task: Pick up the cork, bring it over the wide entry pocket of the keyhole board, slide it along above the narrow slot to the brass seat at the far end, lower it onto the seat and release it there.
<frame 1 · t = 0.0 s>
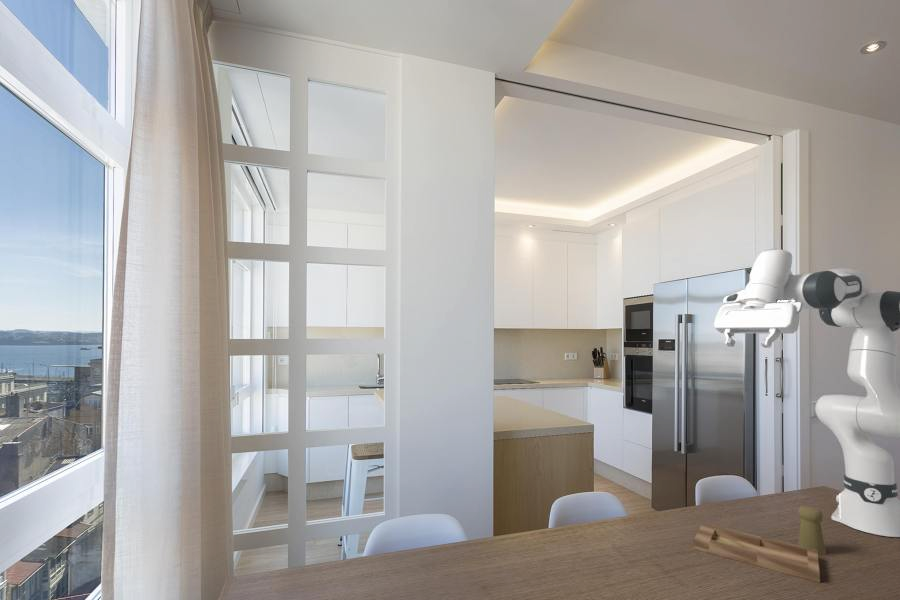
hand: (746, 346, 118), 54 cm above the table, tool tilted 30°, fingers open, 8 cm apart
keyhole board: (754, 554, 118), on the table
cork: (811, 550, 121), on the table
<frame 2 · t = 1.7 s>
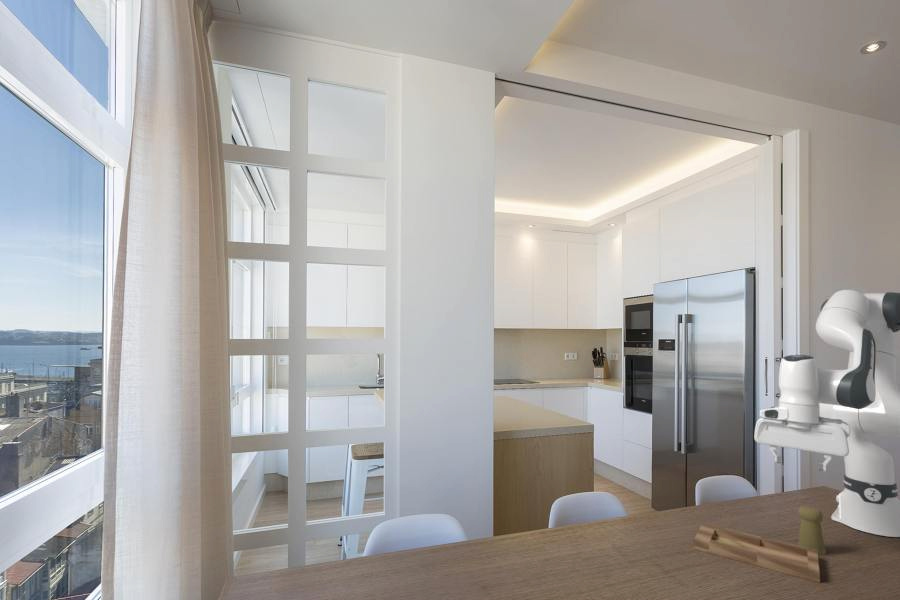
hand: (799, 466, 121), 22 cm above the table, tool pointing down, fingers open, 8 cm apart
nothing on the table moved.
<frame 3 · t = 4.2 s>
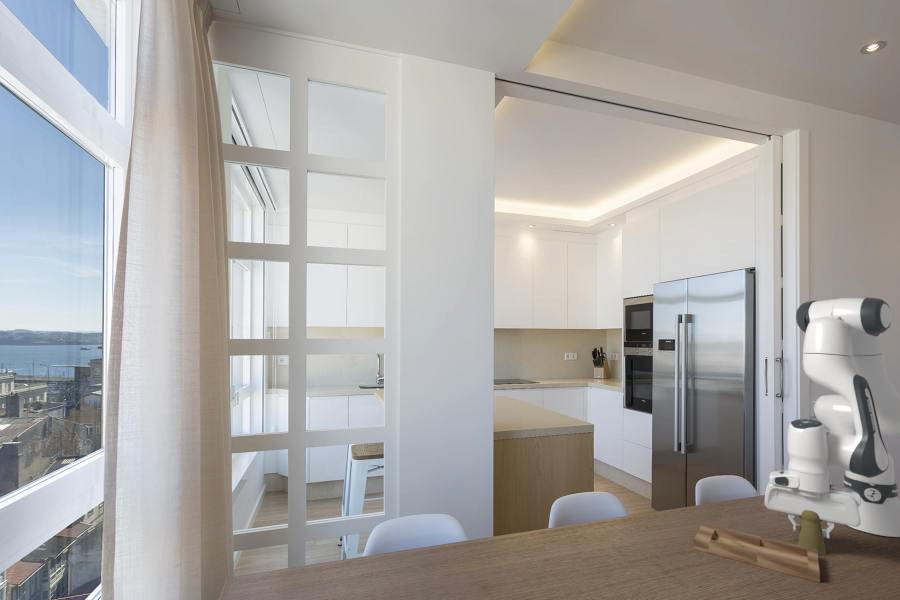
hand: (811, 533, 121), 4 cm above the table, tool pointing down, fingers closed on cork, 5 cm apart
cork: (811, 550, 121), on the table, touching gripper
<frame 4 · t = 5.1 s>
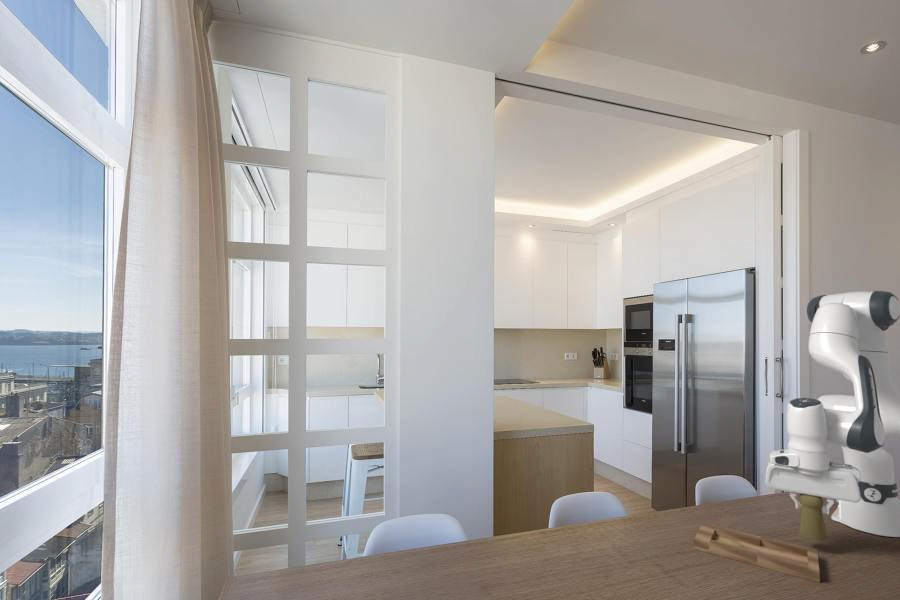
hand: (812, 511, 122), 10 cm above the table, tool pointing down, fingers closed on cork, 4 cm apart
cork: (813, 536, 121), point 3 cm above the table, touching gripper
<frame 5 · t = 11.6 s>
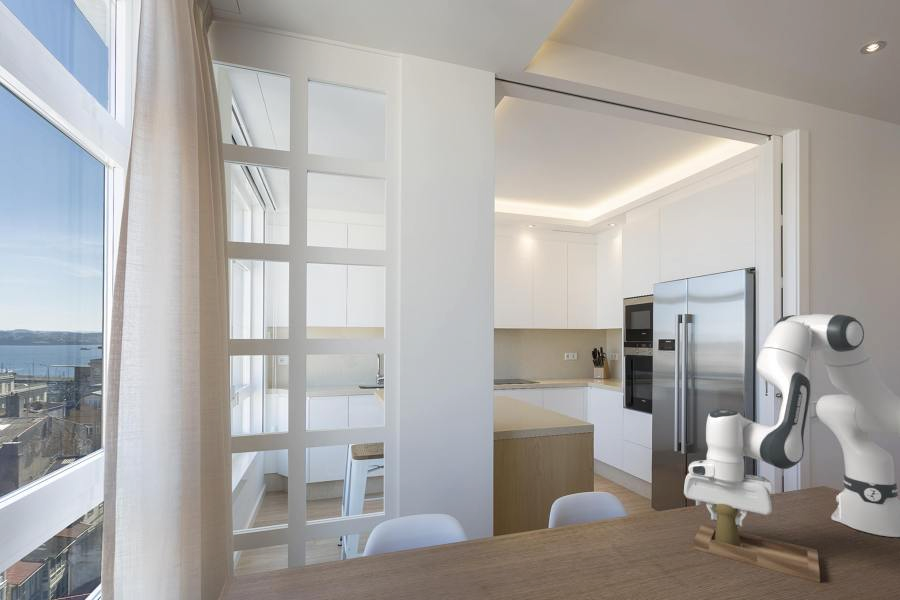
hand: (726, 522, 122), 6 cm above the table, tool pointing down, fingers closed on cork, 4 cm apart
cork: (727, 544, 121), point 1 cm above the table, touching gripper, keyhole board
when the fingers open (6 cm above the table, at t = 12.2 s): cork stays where it is, resting on keyhole board.
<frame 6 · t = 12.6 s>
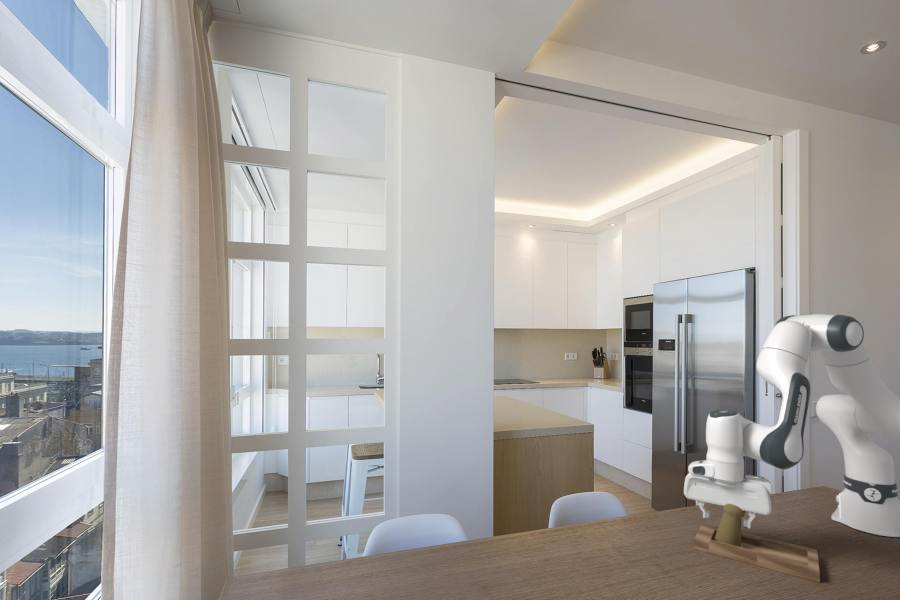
hand: (726, 522, 122), 6 cm above the table, tool pointing down, fingers open, 8 cm apart
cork: (727, 542, 121), point 1 cm above the table, touching gripper, keyhole board
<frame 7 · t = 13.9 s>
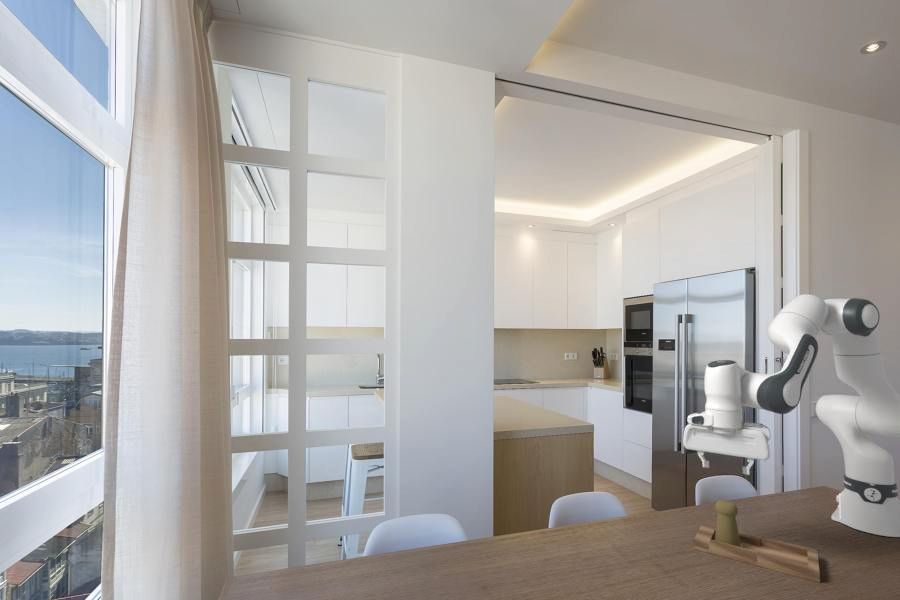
hand: (725, 470, 123), 20 cm above the table, tool pointing down, fingers open, 8 cm apart
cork: (727, 544, 121), point 1 cm above the table, touching keyhole board
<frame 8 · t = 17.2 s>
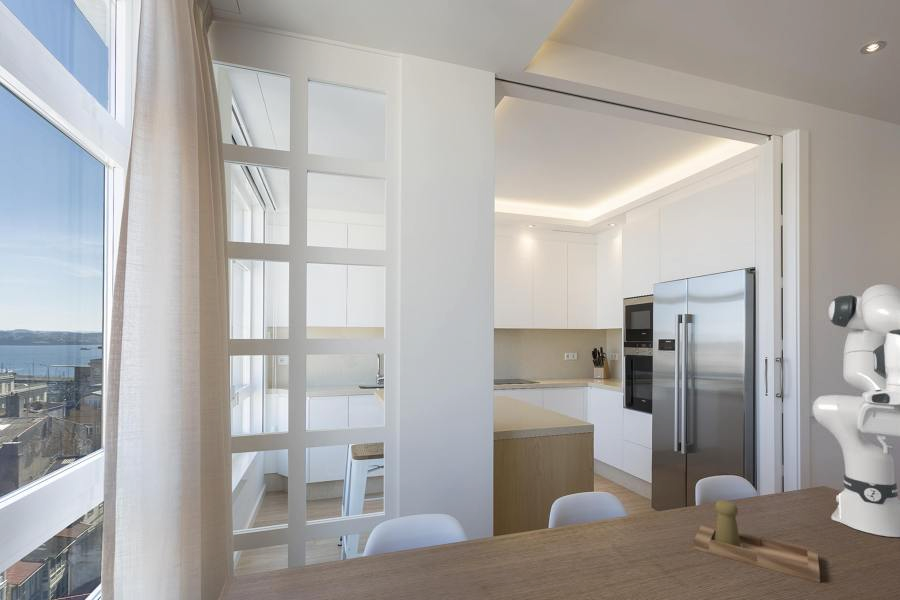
nothing on the table moved.
at the end: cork inside the target area (0.3 cm from its centre), point 0.7 cm above the table; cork tilted 0°; the gripper is holding nothing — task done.
